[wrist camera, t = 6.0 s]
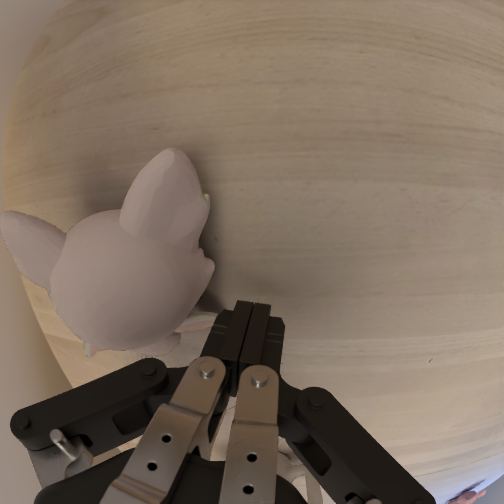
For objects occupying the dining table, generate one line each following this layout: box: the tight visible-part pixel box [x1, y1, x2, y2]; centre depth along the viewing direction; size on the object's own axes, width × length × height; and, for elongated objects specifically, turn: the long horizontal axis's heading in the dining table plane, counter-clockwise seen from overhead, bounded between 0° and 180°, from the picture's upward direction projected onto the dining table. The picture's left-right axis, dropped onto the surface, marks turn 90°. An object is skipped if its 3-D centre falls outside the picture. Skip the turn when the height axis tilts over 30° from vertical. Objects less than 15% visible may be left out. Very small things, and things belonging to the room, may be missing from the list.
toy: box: [0, 148, 236, 413], centre depth 14 cm, size 12×8×15 cm
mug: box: [276, 452, 323, 504], centre depth 21 cm, size 11×8×10 cm
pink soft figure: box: [446, 490, 486, 504], centre depth 30 cm, size 6×6×15 cm
